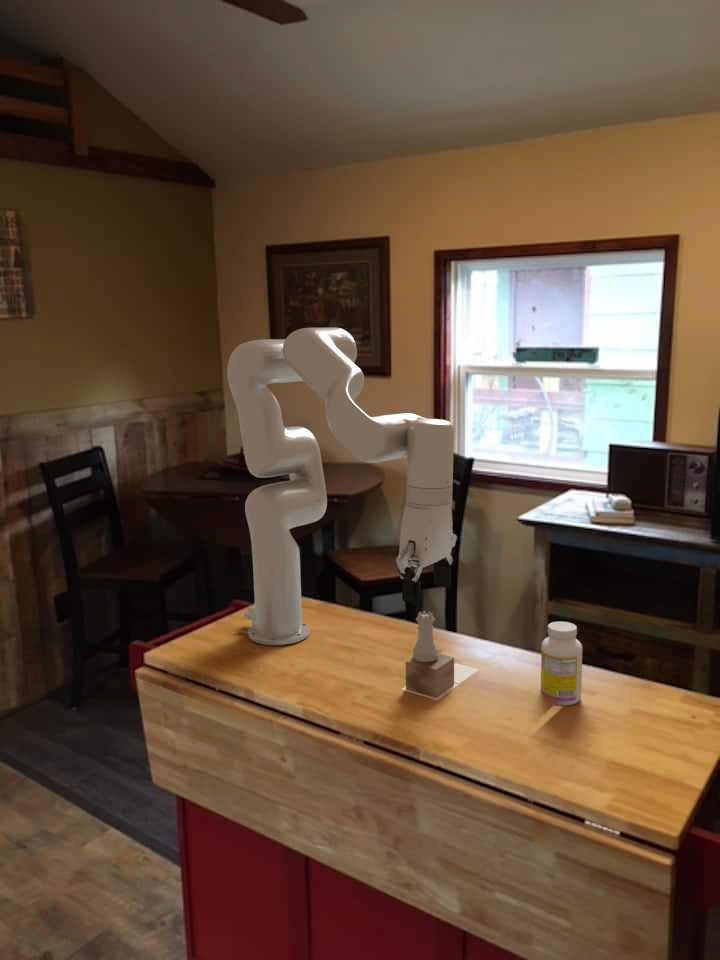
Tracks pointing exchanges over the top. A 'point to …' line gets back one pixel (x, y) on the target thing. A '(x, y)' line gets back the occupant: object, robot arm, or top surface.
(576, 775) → the top surface
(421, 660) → the rook chess piece
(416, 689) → the walnut block
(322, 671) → the top surface
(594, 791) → the top surface
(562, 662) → the supplement bottle
